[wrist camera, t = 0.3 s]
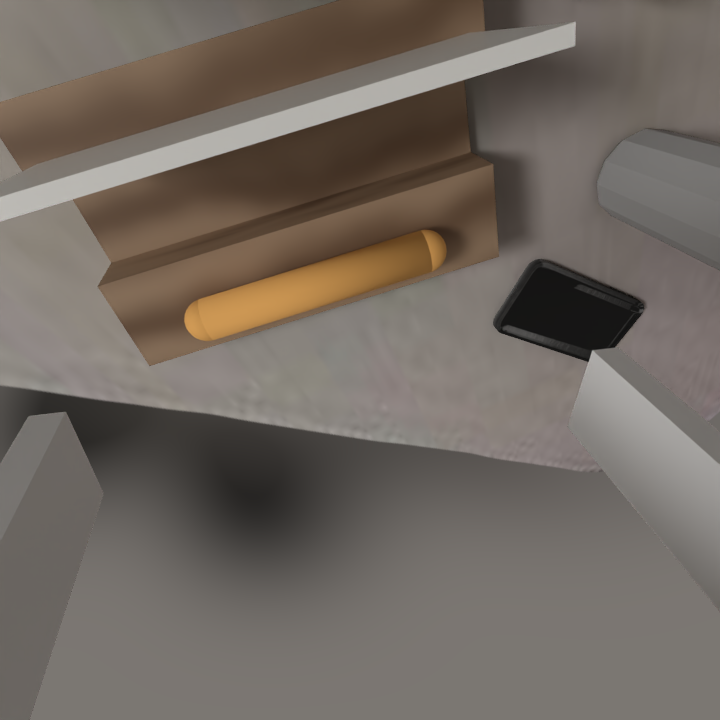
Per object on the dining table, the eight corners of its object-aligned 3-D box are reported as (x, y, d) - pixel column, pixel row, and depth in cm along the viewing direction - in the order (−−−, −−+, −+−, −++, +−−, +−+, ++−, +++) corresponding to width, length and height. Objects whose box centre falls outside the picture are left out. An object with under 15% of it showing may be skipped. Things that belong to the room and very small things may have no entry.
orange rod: (179, 297, 33) (173, 318, 31) (435, 218, 33) (450, 232, 31) (197, 332, 35) (194, 354, 32) (440, 256, 35) (455, 272, 33)
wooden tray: (17, 97, 29) (-20, 107, 25) (448, -33, 29) (480, -43, 25) (159, 332, 40) (149, 365, 36) (473, 234, 40) (498, 256, 36)
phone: (600, 365, 51) (492, 330, 46) (593, 359, 52) (487, 324, 46) (649, 304, 48) (539, 258, 42) (641, 299, 49) (532, 253, 43)
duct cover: (45, 178, 27) (37, 164, 27) (470, 49, 28) (468, 32, 27) (-59, 239, 18) (-74, 219, 18) (575, 45, 19) (575, 21, 18)
